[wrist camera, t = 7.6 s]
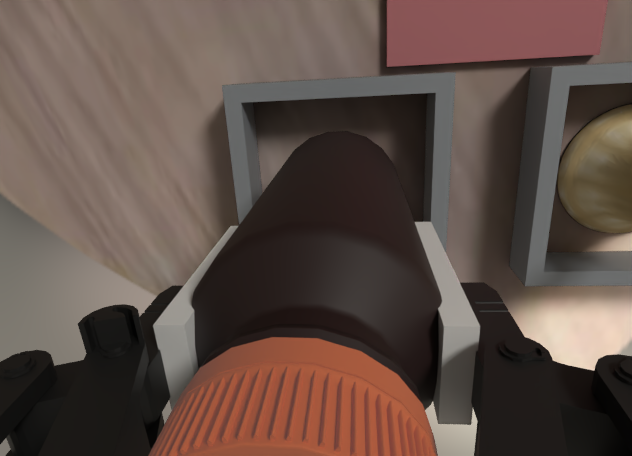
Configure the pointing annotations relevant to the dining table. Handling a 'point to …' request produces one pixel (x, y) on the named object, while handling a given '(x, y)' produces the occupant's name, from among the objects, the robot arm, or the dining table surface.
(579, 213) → the hand bell
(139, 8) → the dining table surface
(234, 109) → the tray
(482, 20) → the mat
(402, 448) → the vinegar
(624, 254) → the bell tray
